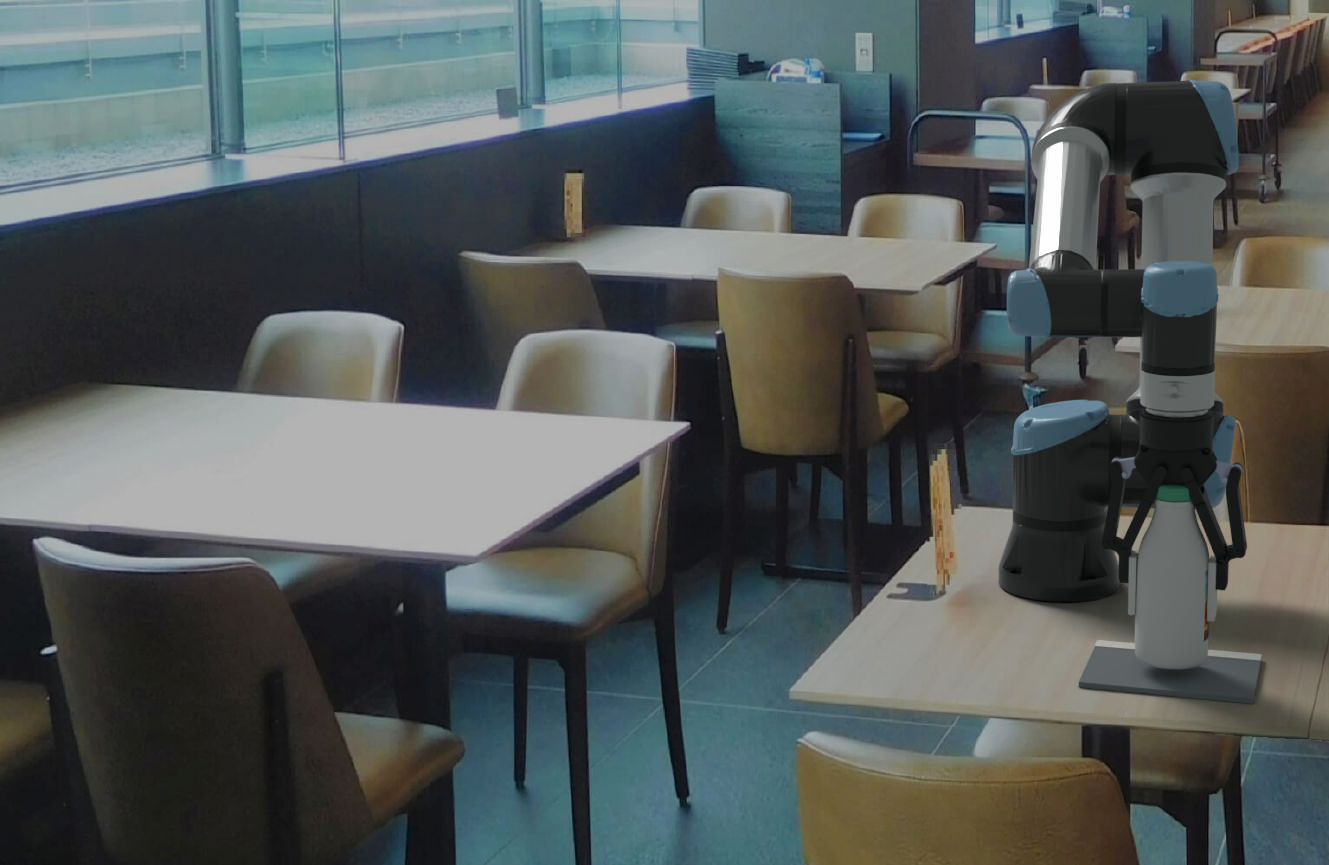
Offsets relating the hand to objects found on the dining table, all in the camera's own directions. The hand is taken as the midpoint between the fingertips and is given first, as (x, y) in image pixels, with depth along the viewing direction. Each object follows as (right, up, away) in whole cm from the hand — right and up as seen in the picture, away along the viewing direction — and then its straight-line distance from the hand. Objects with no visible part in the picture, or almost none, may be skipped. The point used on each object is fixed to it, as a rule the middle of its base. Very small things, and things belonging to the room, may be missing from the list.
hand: (1172, 613), depth 194 cm
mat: (0, -7, +2) cm, 7 cm away
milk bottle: (0, -5, +1) cm, 5 cm away
